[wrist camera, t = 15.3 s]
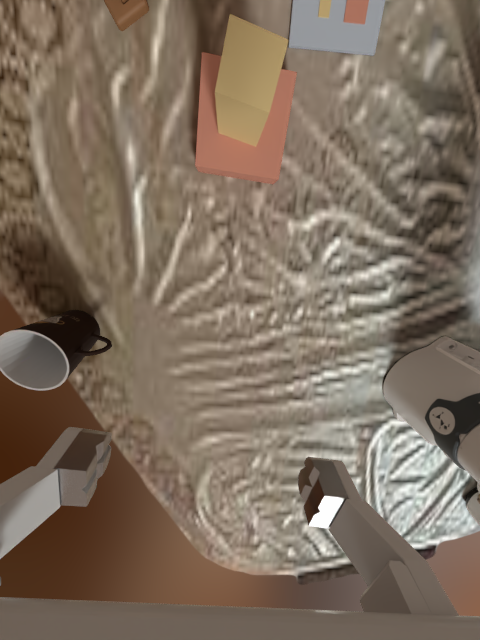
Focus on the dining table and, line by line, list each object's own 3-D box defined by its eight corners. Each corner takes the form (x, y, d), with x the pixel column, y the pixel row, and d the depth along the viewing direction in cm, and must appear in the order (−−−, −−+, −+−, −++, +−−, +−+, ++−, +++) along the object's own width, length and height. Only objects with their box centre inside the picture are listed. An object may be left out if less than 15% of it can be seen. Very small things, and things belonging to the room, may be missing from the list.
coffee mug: (47, 341, 39) (-10, 377, 30) (55, 294, 36) (-5, 318, 27) (118, 364, 41) (86, 405, 32) (131, 322, 38) (100, 353, 29)
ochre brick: (268, 99, 26) (288, 40, 18) (256, 146, 27) (269, 113, 19) (228, 83, 25) (229, 13, 17) (218, 133, 27) (214, 91, 18)
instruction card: (390, -34, 25) (392, -38, 25) (373, 55, 28) (375, 53, 27) (296, -45, 24) (297, -49, 24) (288, 47, 27) (289, 44, 27)
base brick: (288, 91, 29) (296, 72, 25) (272, 184, 32) (278, 179, 29) (205, 74, 28) (201, 51, 24) (199, 172, 32) (195, 165, 28)
